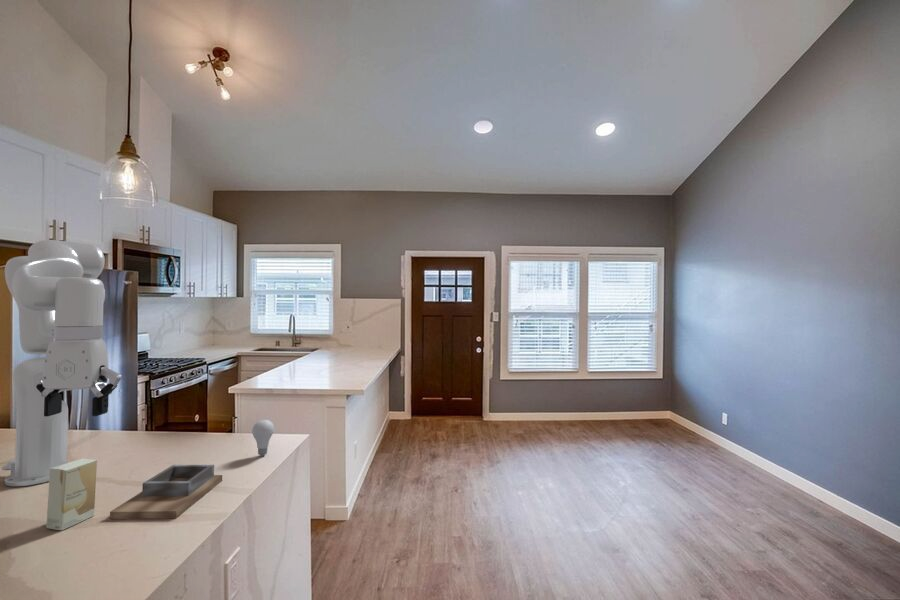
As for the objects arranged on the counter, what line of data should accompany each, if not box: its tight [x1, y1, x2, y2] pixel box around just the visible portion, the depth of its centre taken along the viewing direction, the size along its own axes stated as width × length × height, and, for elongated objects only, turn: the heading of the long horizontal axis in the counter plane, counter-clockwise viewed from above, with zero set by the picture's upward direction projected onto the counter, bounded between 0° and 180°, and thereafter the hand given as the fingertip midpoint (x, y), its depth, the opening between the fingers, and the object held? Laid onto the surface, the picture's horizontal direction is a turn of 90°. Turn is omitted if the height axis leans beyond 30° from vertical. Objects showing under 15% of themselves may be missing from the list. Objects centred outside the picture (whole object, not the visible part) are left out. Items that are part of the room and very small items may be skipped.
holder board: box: [109, 464, 223, 520], centre depth 92 cm, size 14×18×4 cm
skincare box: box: [46, 458, 98, 531], centre depth 81 cm, size 6×4×12 cm
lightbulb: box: [251, 419, 275, 457], centre depth 118 cm, size 6×6×11 cm
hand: (76, 414), depth 82 cm, fingers open, 9 cm apart
